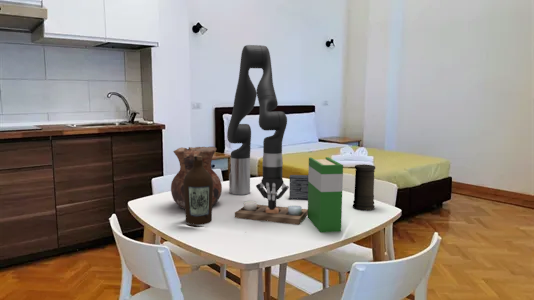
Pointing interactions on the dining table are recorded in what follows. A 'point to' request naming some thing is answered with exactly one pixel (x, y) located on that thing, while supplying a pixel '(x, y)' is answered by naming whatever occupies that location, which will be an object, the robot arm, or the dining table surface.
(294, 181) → the small box
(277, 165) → the robot arm
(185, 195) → the olive oil
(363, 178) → the container
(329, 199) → the hardback book
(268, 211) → the terracotta button
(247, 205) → the white button
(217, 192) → the brown clay vase
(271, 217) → the brown slotted panel
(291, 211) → the pale blue button
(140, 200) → the dining table surface
